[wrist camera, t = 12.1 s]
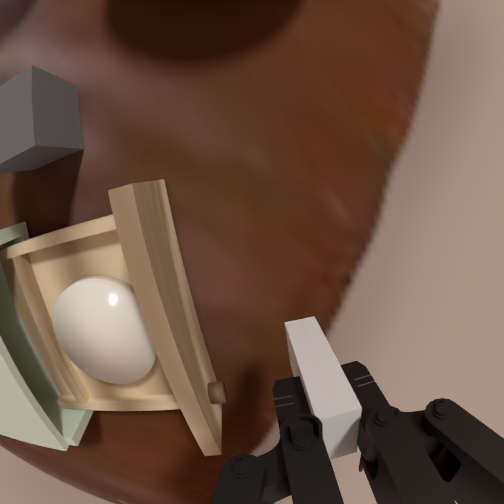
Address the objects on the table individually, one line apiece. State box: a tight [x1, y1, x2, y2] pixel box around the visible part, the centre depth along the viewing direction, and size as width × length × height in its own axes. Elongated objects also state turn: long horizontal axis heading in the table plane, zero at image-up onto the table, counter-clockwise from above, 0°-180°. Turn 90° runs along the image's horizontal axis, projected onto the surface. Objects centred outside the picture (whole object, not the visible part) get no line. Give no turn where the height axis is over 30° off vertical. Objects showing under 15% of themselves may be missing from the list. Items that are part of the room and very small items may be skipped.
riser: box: [0, 66, 84, 173], centre depth 13 cm, size 5×5×6 cm
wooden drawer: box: [0, 179, 227, 456], centre depth 17 cm, size 16×18×6 cm
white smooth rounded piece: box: [53, 275, 157, 384], centre depth 18 cm, size 8×8×2 cm
